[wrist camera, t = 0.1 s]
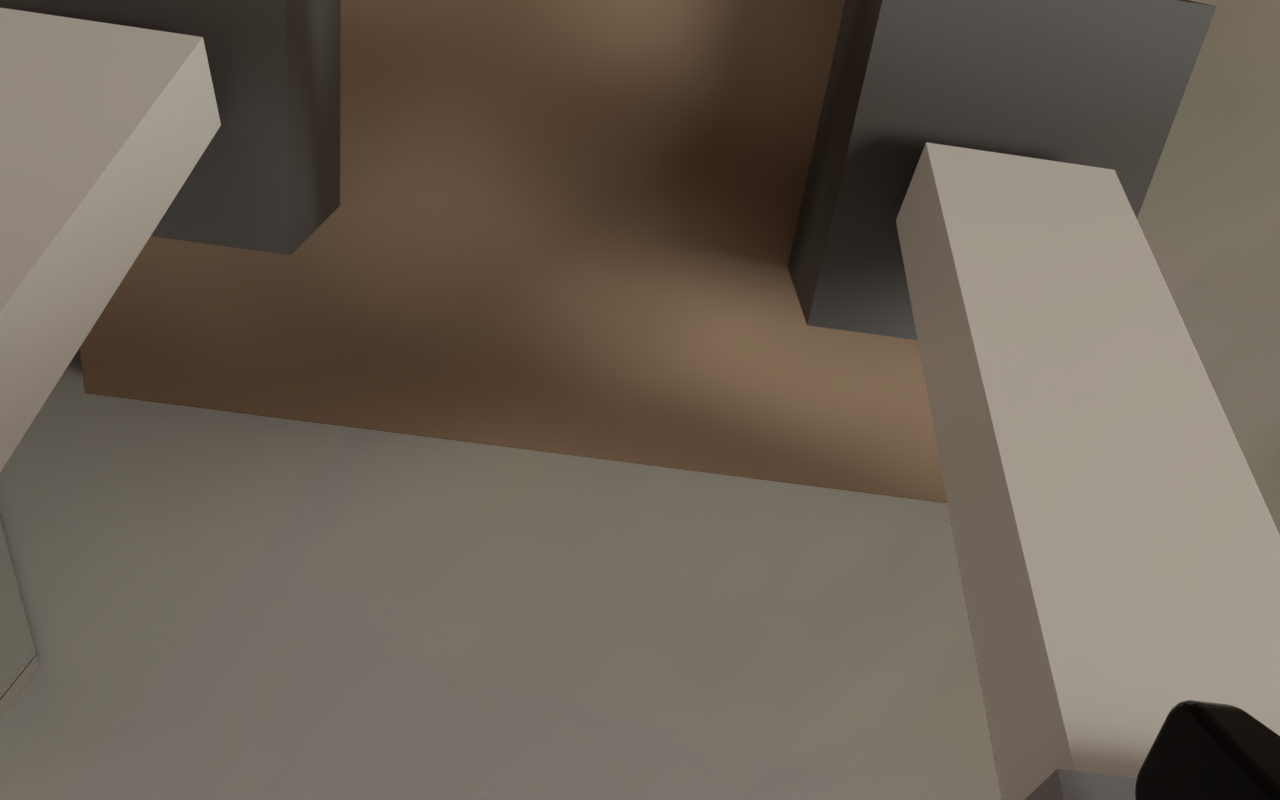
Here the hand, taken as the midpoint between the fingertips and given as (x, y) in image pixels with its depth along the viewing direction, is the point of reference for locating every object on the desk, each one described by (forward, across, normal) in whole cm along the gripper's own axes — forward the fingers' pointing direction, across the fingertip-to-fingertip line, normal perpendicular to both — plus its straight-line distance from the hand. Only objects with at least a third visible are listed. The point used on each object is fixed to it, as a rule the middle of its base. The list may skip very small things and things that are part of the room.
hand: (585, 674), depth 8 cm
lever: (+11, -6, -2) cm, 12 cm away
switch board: (+15, +1, -1) cm, 15 cm away
